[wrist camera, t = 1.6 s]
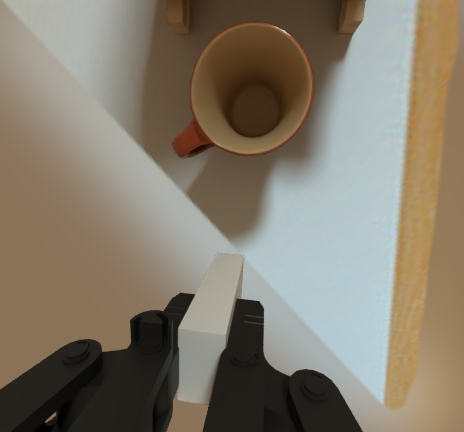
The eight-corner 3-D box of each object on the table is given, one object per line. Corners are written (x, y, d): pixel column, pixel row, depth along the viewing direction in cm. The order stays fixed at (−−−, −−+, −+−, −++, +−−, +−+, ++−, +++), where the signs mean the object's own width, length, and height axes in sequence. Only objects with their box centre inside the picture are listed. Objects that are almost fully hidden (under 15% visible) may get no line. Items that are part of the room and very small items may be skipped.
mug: (270, 52, 26) (272, -10, 17) (311, 126, 28) (337, 110, 18) (178, 119, 29) (132, 101, 19) (219, 185, 30) (196, 199, 20)
